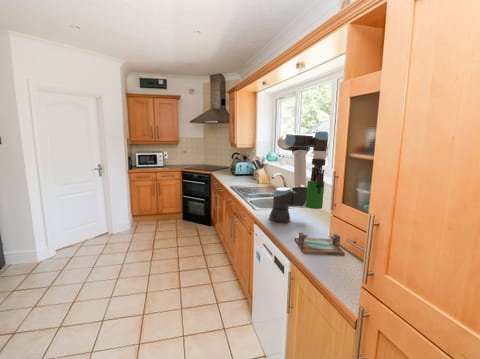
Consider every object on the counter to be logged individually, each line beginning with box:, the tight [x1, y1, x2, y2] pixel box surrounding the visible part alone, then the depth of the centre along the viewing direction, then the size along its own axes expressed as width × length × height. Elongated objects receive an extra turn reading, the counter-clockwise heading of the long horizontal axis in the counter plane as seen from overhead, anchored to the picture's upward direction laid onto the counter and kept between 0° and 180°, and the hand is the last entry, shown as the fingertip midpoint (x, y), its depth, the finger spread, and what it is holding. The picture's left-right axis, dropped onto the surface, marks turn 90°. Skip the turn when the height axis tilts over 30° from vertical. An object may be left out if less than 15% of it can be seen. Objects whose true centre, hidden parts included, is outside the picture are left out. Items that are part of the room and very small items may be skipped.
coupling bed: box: [294, 232, 346, 256], centre depth 144 cm, size 18×22×8 cm
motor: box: [305, 178, 326, 210], centre depth 152 cm, size 10×9×20 cm
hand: (315, 197), depth 153 cm, fingers closed on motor, 7 cm apart
